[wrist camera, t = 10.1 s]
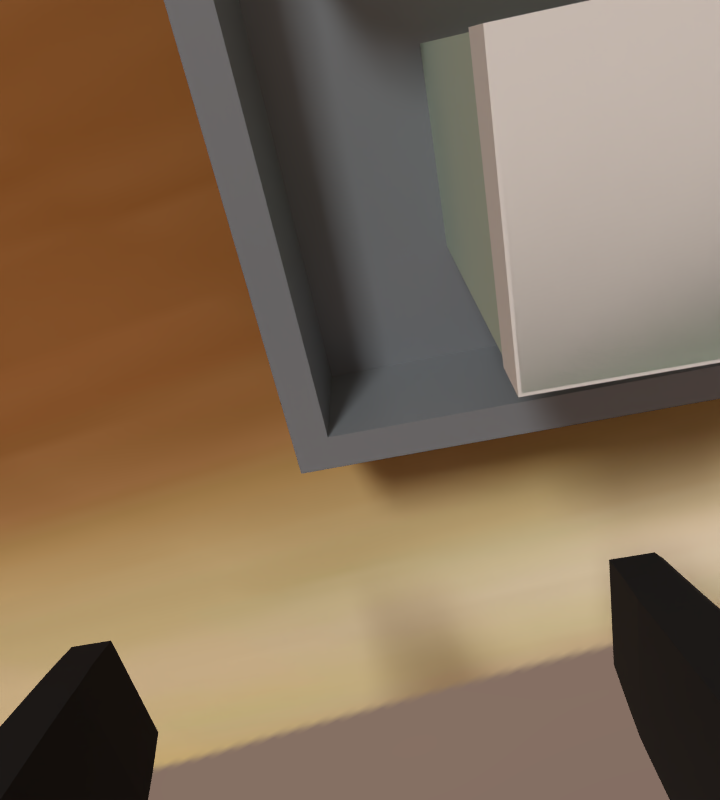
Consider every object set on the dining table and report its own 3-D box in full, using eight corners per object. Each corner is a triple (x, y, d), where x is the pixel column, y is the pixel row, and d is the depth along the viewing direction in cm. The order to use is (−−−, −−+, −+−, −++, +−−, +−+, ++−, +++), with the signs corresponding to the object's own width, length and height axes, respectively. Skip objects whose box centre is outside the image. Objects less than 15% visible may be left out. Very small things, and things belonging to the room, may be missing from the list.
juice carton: (632, -6, 14) (930, -73, 7) (633, 212, 16) (864, 337, 9) (417, 41, 14) (483, 22, 7) (445, 248, 16) (518, 397, 9)
